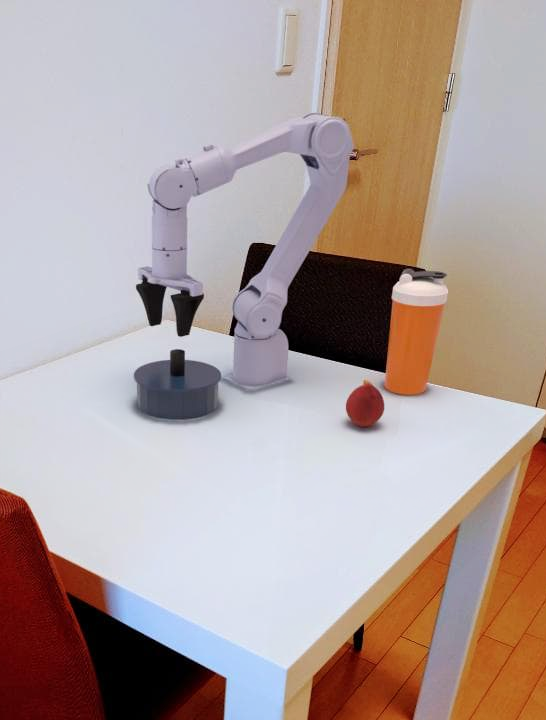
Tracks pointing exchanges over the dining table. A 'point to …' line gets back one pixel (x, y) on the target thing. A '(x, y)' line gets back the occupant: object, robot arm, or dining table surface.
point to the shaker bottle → (414, 330)
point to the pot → (177, 403)
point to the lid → (177, 374)
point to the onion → (365, 405)
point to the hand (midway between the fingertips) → (169, 330)
